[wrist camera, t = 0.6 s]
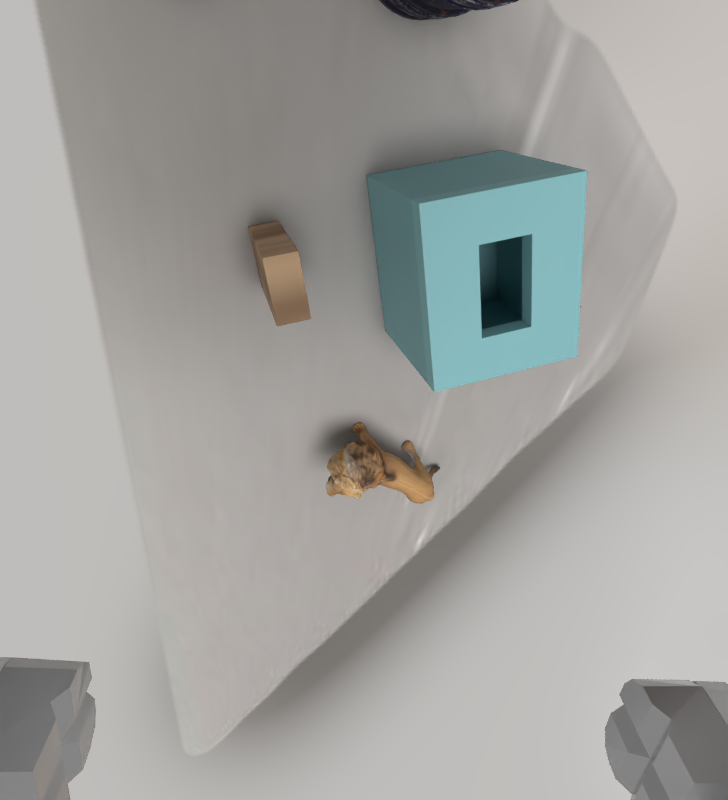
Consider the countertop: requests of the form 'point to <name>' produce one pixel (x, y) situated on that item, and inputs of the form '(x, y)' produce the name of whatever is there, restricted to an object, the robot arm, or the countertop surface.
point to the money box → (480, 263)
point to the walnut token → (280, 273)
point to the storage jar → (439, 7)
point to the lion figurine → (377, 470)
